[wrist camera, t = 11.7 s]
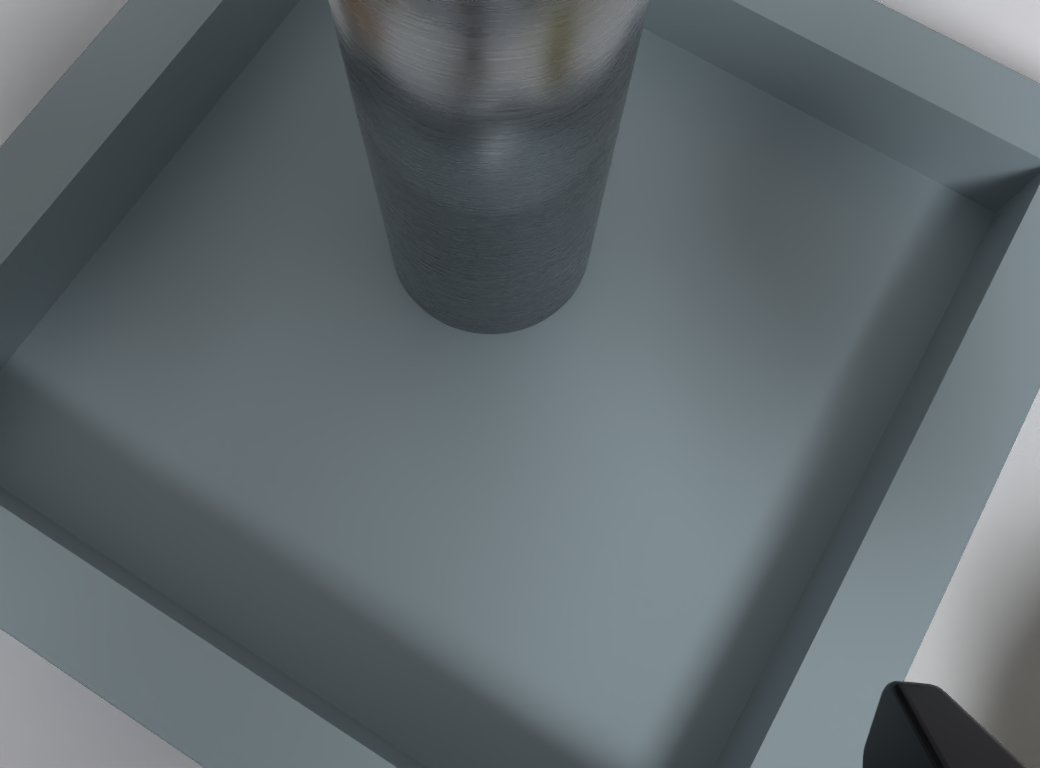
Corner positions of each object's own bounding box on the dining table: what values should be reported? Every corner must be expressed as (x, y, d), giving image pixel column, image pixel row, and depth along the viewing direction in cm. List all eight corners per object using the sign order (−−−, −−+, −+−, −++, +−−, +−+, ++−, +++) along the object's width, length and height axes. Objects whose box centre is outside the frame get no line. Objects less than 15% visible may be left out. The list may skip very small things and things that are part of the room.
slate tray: (667, 1029, 16) (705, 1109, 13) (-145, 482, 18) (-263, 448, 16) (1062, 213, 21) (1153, 140, 18) (373, -144, 23) (356, -260, 20)
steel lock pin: (421, 361, 18) (264, -280, 6) (365, 179, 19) (134, -691, 7) (620, 303, 19) (870, -409, 6) (555, 128, 20) (658, -777, 7)
